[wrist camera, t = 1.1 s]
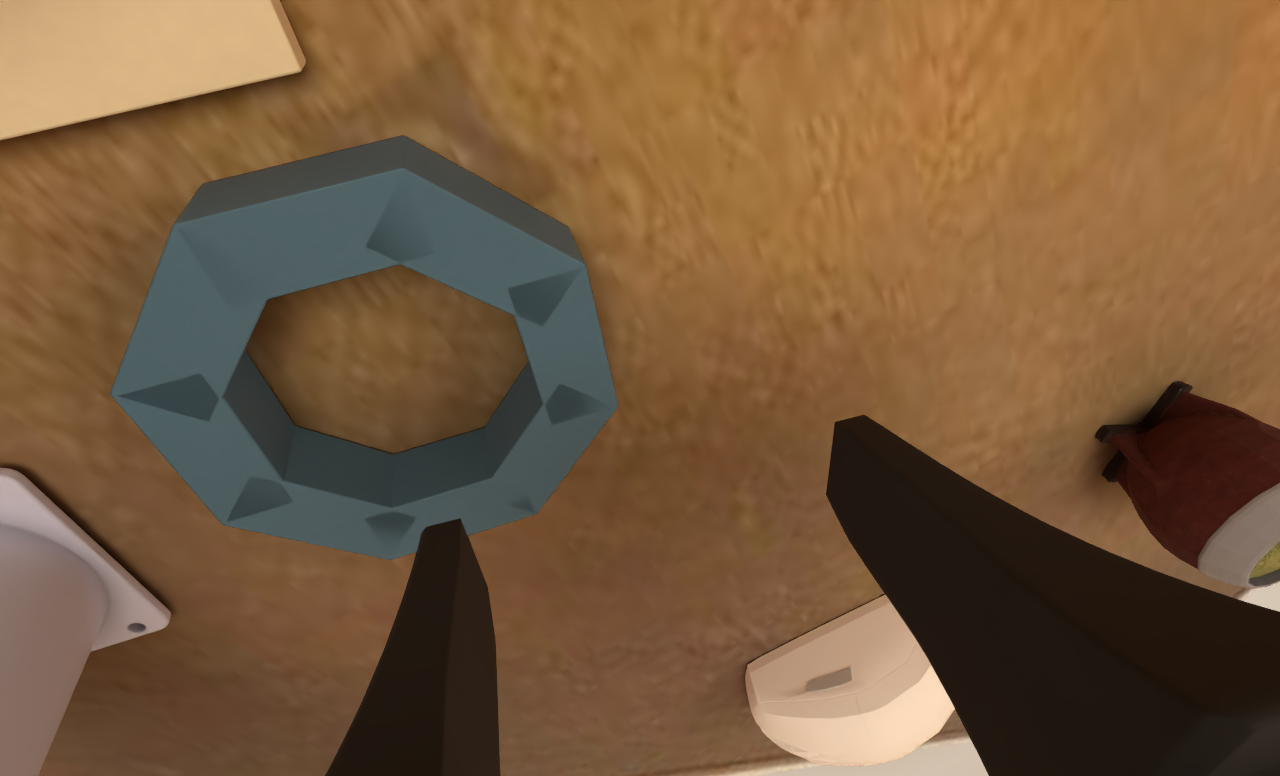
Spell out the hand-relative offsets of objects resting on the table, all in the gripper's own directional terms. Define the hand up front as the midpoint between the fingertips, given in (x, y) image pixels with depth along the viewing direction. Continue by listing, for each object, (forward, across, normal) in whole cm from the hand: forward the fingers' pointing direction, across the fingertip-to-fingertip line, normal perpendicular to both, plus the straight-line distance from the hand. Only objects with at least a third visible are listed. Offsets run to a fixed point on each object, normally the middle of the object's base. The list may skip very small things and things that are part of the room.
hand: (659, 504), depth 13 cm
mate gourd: (+10, -27, +15) cm, 33 cm away
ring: (+10, +6, +2) cm, 11 cm away
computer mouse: (+10, -12, +27) cm, 32 cm away
